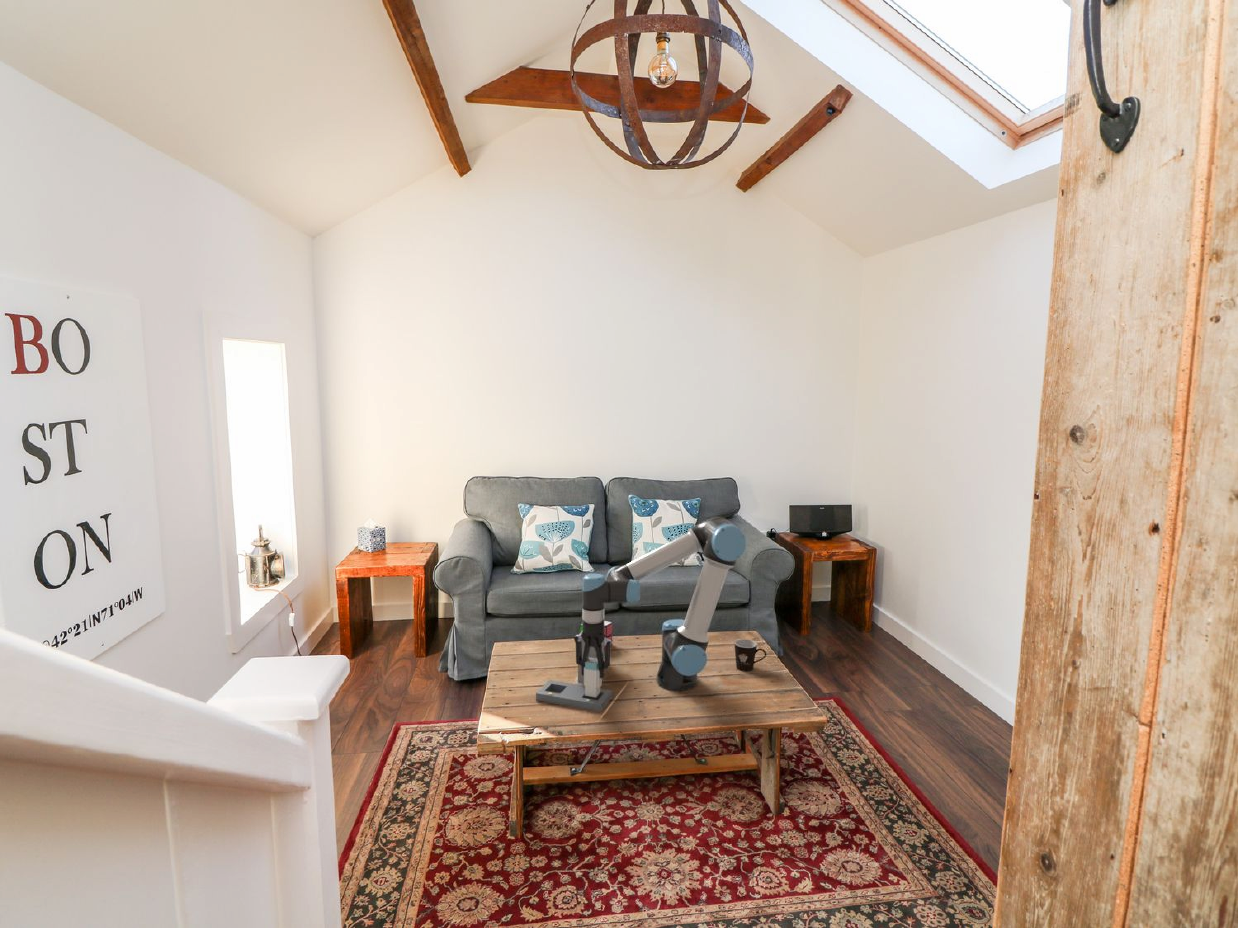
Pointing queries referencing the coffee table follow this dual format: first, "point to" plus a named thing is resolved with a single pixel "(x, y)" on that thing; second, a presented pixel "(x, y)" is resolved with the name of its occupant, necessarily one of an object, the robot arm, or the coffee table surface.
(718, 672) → the coffee table surface
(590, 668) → the plug
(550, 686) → the jack panel
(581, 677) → the network device
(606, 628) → the puzzle cube
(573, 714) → the coffee table surface
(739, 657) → the coffee mug
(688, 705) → the coffee table surface
